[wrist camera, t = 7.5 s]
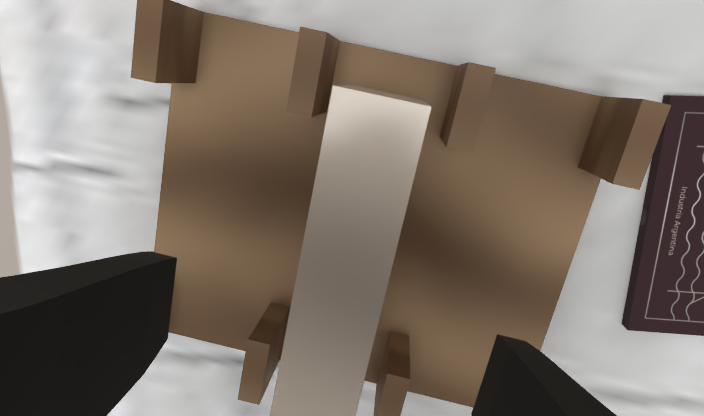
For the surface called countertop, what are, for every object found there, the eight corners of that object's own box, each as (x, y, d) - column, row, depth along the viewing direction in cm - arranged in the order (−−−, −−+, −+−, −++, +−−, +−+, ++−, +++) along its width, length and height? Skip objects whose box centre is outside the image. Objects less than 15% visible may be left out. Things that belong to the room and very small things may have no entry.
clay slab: (363, 343, 20) (346, 450, 14) (307, 330, 20) (267, 429, 14) (422, 99, 17) (431, 106, 11) (356, 85, 17) (332, 85, 12)
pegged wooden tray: (511, 402, 21) (535, 474, 17) (157, 315, 22) (104, 365, 18) (615, 101, 18) (674, 105, 14) (191, 11, 18) (134, -9, 14)
